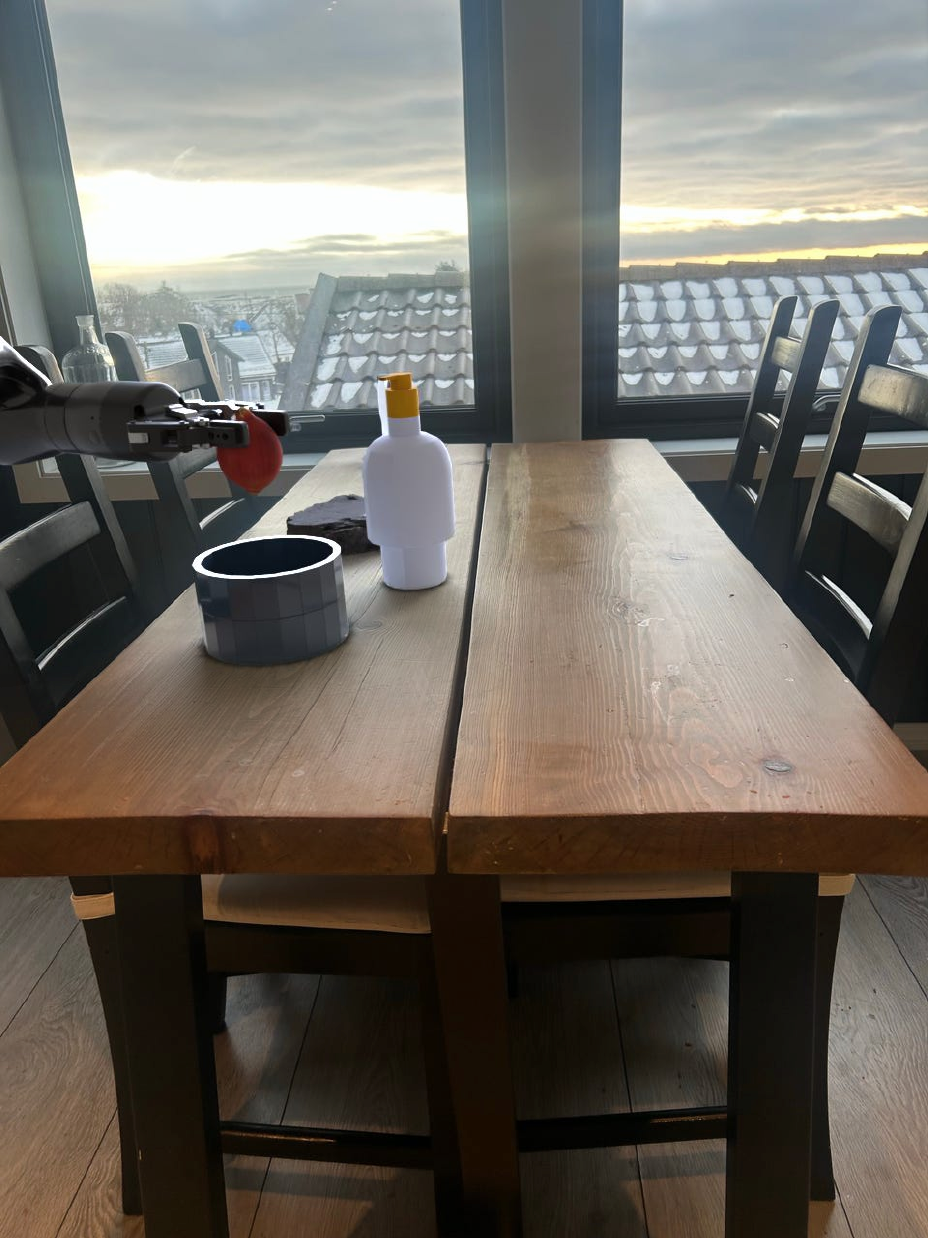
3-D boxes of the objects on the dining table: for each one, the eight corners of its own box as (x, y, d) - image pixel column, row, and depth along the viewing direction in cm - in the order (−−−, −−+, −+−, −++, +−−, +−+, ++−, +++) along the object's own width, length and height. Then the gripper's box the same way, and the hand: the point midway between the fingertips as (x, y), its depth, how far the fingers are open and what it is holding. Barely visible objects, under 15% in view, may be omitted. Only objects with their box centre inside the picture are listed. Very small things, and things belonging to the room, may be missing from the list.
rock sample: (297, 565, 127) (293, 527, 125) (278, 535, 141) (274, 501, 139) (428, 546, 132) (426, 510, 130) (397, 519, 146) (394, 486, 144)
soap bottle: (354, 587, 118) (334, 378, 109) (410, 564, 125) (395, 366, 117) (421, 601, 112) (405, 381, 103) (476, 576, 119) (465, 369, 111)
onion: (249, 483, 95) (238, 399, 92) (299, 488, 93) (290, 401, 90) (210, 499, 90) (197, 410, 87) (261, 504, 88) (250, 413, 85)
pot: (288, 676, 94) (277, 585, 91) (175, 653, 101) (161, 568, 98) (376, 624, 106) (369, 542, 102) (269, 607, 113) (259, 530, 109)
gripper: (60, 392, 89) (207, 398, 81) (173, 371, 100) (311, 375, 93) (75, 475, 91) (219, 489, 84) (184, 446, 103) (319, 455, 96)
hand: (267, 429), depth 88 cm, fingers closed on onion, 5 cm apart
